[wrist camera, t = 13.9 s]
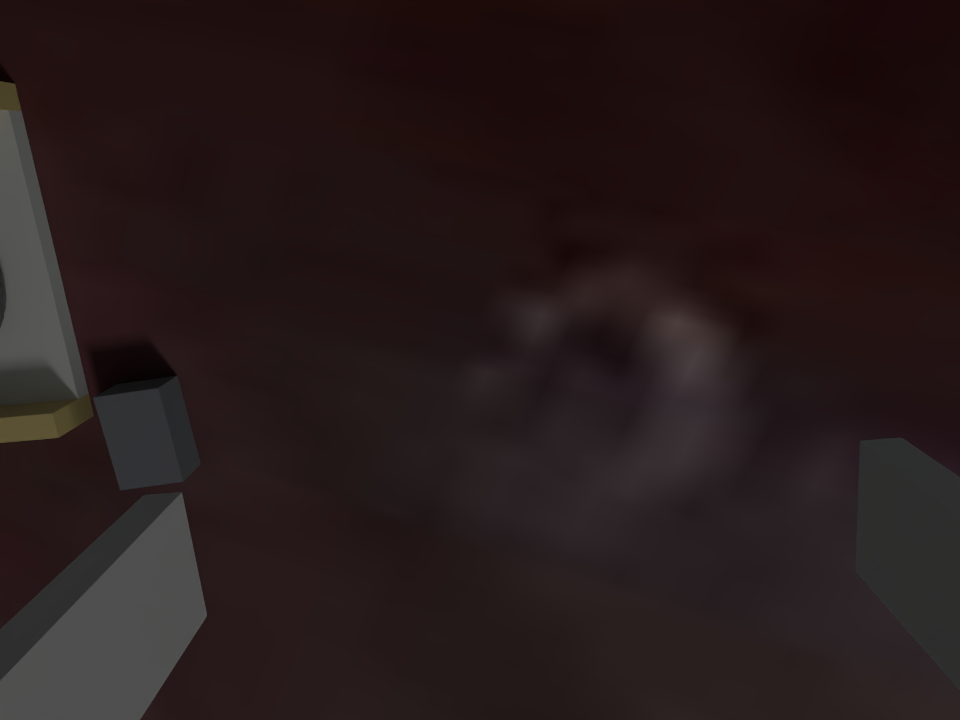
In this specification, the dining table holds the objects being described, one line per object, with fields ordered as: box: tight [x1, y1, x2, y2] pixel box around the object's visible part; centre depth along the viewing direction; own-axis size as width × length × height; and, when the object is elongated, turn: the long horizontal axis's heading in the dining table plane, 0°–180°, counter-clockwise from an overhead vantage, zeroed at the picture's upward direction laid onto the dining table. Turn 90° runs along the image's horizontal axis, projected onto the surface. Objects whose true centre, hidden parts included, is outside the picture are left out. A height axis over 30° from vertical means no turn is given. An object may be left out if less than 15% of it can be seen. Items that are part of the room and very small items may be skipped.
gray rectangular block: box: [93, 376, 200, 490], centre depth 47 cm, size 6×4×3 cm, turn 9°
